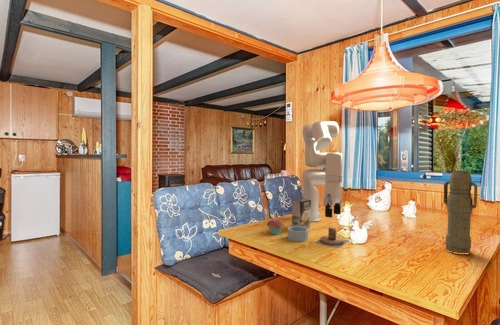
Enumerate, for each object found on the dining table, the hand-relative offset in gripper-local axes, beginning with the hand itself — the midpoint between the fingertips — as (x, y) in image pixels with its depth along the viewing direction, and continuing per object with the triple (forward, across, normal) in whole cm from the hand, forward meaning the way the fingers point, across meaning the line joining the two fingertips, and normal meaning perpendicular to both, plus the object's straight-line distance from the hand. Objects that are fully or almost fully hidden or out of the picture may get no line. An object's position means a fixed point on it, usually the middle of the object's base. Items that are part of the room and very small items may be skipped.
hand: (332, 215), depth 135 cm
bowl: (+13, +5, -16) cm, 21 cm away
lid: (+13, -1, 0) cm, 13 cm away
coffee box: (+13, -13, -24) cm, 30 cm away
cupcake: (+13, +4, -30) cm, 32 cm away
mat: (+13, -1, 0) cm, 13 cm away
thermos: (+13, -24, +46) cm, 54 cm away
